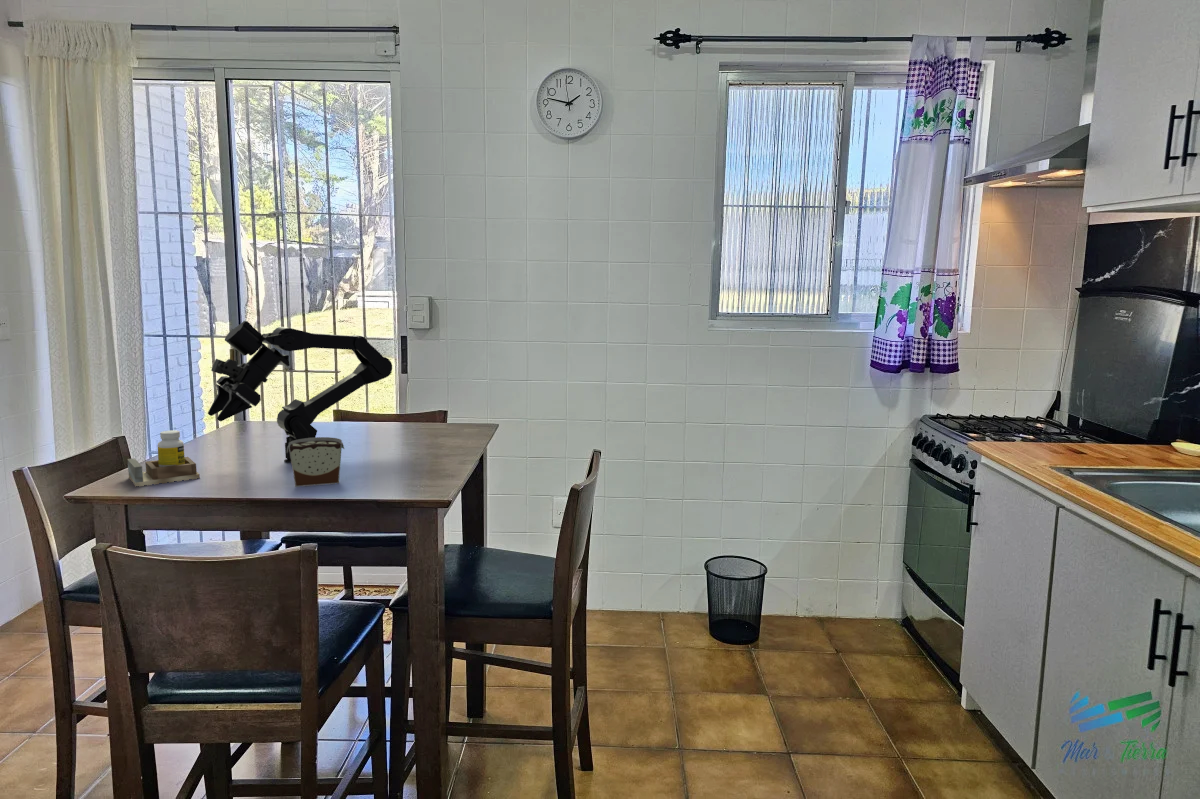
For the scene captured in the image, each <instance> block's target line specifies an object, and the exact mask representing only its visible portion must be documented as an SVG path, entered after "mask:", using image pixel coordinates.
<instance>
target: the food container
mask: <svg viewBox="0 0 1200 799" xmlns="http://www.w3.org/2000/svg"><path fill="white" fill-rule="evenodd" d="M342 449H343V450H345V446H344V443H343V440H342V439H340V438H337V437H327V436H326V437H325V436H324V437H323V436H322V437H321V436H318V437H317V436H316V437H315V438H304V439H298V440H294V441H291V442H290V443H289V445H288V447H287V452H288V451H289V452H290V458H291V462H290V463H291V469H292V475H293V476H292V477H293V482H294V487H295V488H300V486H302V487H312V486H313V485H314V486H323V485H324V486H326V485H325V484H327V485H339V484H340V477H341V476H340V475H341V473H340V472H341V462H342V459H341V458H342ZM335 483H337V484H335ZM338 483H339V484H338Z"/></svg>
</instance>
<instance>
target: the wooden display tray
mask: <svg viewBox="0 0 1200 799" xmlns="http://www.w3.org/2000/svg"><path fill="white" fill-rule="evenodd" d="M184 458H185V464H182V465H174V466H165V467H159V463H158V459H156V460H148V461H144V462H145V471H143V466H142V465H141V463H140V462H139V461H138V460H137V459H136V458H127V470H128V472H127V473H128V479H129V480H130V481H131V483H132V482H133V483H134V484H133V483H132V484H133V485H134V486H135V487H136V486H139V487H144V485H147V486H153V485H152V484H154V485H159V483H162V484H168V483H167V482H169V483H175V482H174V481H177V482H183V481H182V480H184V481H189V479H192V480H198V479H197V478H199V479H200V478H201V477H200V473H199V472H197V463H196V462H195V461H194V460H193V459H191V457H189V456H184Z"/></svg>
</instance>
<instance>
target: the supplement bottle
mask: <svg viewBox="0 0 1200 799" xmlns="http://www.w3.org/2000/svg"><path fill="white" fill-rule="evenodd" d="M180 432H181V431H180V430H176V429H175V430H173V429H172V430H163V431H160V432H159V435H160V439H161V440H160V441H159V442H158V443H157V458H158V459H157V460H158V463H159V467H165V466H174V465H182V464H185V458H184V457H185V444H184V441H183V440H181V439H180V438H181V433H180Z"/></svg>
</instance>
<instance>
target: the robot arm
mask: <svg viewBox="0 0 1200 799" xmlns="http://www.w3.org/2000/svg"><path fill="white" fill-rule="evenodd" d="M224 341H225V342H226V343H227V344H229V345H230V346H231V347H232V348H233V349H234V350H236V351H238V353H239V354H241V355H242V356H243V357H244V356H248V355H249V356H252V357H251V358H250V359H249V360H248V361H247V362H246V363H245V362H243V363H240V365H239V366H238V364H237V363H238V362H237V360H233V359H230V358H228V359H227V360H223V359H222V360H221V359H218V358H215V360H214V363H213V365H212V367H211V370H210V371H211V372H213V373H216V374H219V375H222V376H220V377H219V378H218V379H217V381H216V384H215V387H216V392H217V394H216V396H215V398H214V399H213V402H212V404H211V405H210V408H209V410H208V411H207V414H208V416H210V417H212V416H214V415H216V414H217V413H219V414H218V415H217V417H216V420H217V421H218V422H223V421H225V420H227V419H229V418H231V417H234V416H235V415H238V414H239V413H241V412H244V411H246V410H248V409H252V408H253V407H256V406H257V405H259V403H261V401H262V398H261V397H262V396H261V394H259V393H258V391H257V389H258V388H259V387H260V386H261V385H262V383H264V384H265V383H267V382H268V381H269V380H268V377H269V376H270V375H271V373H272V372H274V370H275V369H276V368H277V367H278V366H279V364H281V365H282V366H285V367H289V366H290V365H291V364H290V360H289V357H290V355H289V354H282V353H281V352H280V351H278V350H281V351H285V352H286V351H287V352H294V351H302V350H307V349H327V350H328V349H330V350H332V349H333V350H350V351H353V353H354V355H355V356H356V358H357V359H358V361H359V362H360V363H358V365H357V366H356V368H355V369H354V371H353V372H351V373H349V374H348V375H346V376H345V377H343V378H342V379H340V380H338V381H337V382H335V383H333V384H332V385H330V386H329V387H327V388H326V389H324V390H322V391H321V392H319V393H317V394H316V395H315V396H313V397H312V398H310V399H308V400H305V401H302V400H299V399H293V400H292V401H291V402H290V403H289V404H287V405H284V406H281V410H280V411H279V412H278V414H277V418H276V423H277V426H278V427H279V428H280V429H282V430H283V431H284V432H285V435H287V437H286V439H285V440H286V442H284V449H285V450H284V451H285V452H284V454H285V455H284V456H285V459H284V460H283V462H284V463H291V458H290V452H289V451H288V452H287V447H288V445H289V443H290V442H291V441H294V440H298V439H304V438H315V437H317V433H318V430H317V429H316V428H315V426H313V425H312V424H313V422H314V421H315V420H316V418H317V417H318V416H319V415H320V414H321V413H322V412H325V411H326V410H327V409H329V408H331V407H332V406H334V405H336V404H337V403H338V402H339V401H341V400H343V399H345V398H346V397H347V396H349V395H351V394H352V393H354V392H356V391H357V390H359V389H360V388H362V387H363V386H367V385H368V384H369V385H370V384H373V383H375V382H378V381H381V380H384V379H386V378H388V377H389V376H390V375H391V374H392V370H393V364H392V361H391V360H390V359H389V358H387V357H384V356H383V355H382V354H381V352H379V350H377V349H376V348H375V347H374V346H373V345H372V344H371V343H370V342H369V341H368V340H367V338H365V337H364V336H361V335H356V334H354V335H343V334H326V333H313V332H312V333H311V332H308V331H304V330H299V329H295V328H291V327H285V326H279V327H276V328H275V329H274V330H273V331H272V332H268V333H260V332H259V331H258V330H257V329H256V328H255V327H254V326H253V325H252V324H251V322H249V321H247V320H243V321H242V322H241V323H240V324H238V325H237V326H236V327H234V328H232V329H231V330H230V331H229V332H228V333H227V335H226V336H225V337H224ZM266 344H268V345H272V346H274V347H272V348H270V347H268V346H267V345H266ZM223 375H225V376H223Z"/></svg>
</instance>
